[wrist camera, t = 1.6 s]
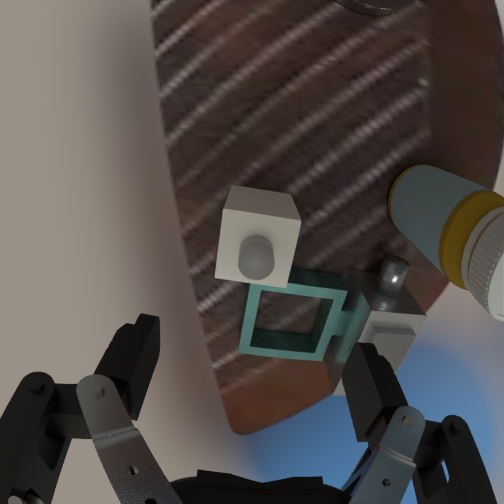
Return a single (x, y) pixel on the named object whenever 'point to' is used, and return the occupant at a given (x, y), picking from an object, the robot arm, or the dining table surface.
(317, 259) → the dining table surface
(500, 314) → the bottle
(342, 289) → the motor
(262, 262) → the white cube with peg
